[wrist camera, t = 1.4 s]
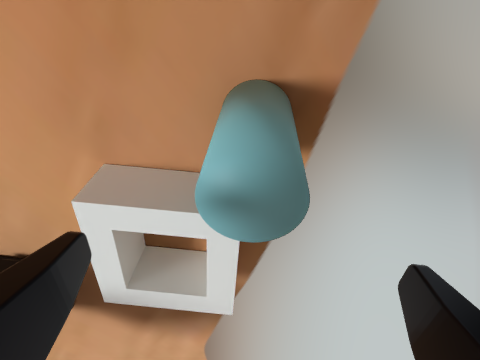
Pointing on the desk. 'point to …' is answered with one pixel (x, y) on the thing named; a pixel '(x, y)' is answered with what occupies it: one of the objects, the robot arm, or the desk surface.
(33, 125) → the desk surface
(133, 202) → the socket
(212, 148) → the peg
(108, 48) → the desk surface
